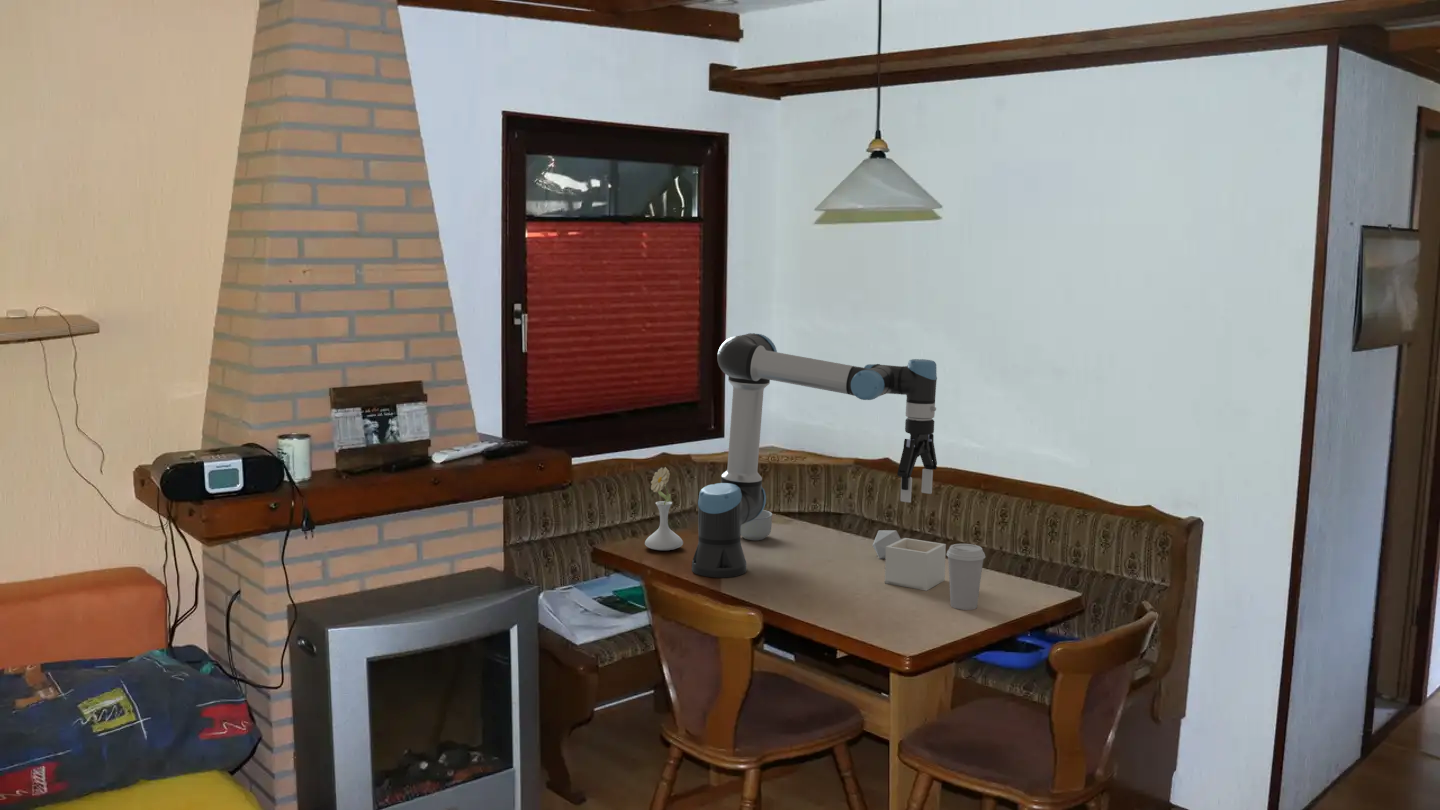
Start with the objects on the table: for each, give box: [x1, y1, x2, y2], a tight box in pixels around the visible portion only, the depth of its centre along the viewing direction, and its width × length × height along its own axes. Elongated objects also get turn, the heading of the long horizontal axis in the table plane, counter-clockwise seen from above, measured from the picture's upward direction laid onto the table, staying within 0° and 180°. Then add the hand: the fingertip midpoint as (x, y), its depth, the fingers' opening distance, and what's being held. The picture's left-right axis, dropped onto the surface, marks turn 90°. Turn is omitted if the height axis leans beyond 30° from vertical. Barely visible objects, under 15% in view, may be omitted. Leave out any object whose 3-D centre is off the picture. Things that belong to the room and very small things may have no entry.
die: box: [872, 529, 902, 560], centre depth 339 cm, size 8×9×10 cm
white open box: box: [884, 537, 947, 592], centre depth 314 cm, size 12×12×10 cm
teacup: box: [741, 509, 773, 541], centre depth 361 cm, size 14×11×8 cm
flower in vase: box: [644, 466, 684, 551], centre depth 344 cm, size 13×11×25 cm
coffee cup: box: [945, 543, 986, 611], centre depth 292 cm, size 10×10×15 cm
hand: (916, 497), depth 311 cm, fingers open, 13 cm apart
